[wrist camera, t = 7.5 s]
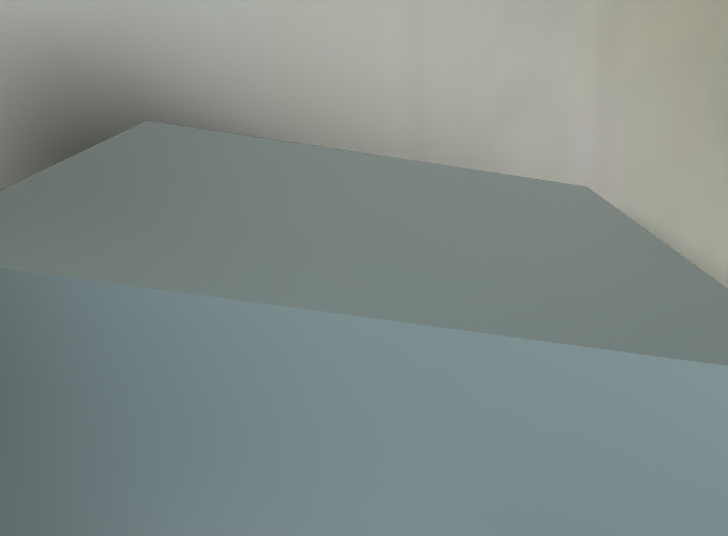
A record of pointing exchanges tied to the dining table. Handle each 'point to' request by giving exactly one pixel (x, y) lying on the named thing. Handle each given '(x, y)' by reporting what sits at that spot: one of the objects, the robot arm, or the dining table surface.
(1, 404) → the grey-blue flat-faced block
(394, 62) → the dining table surface
